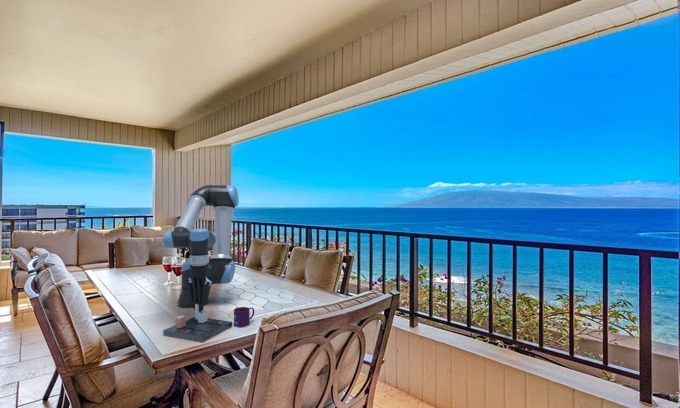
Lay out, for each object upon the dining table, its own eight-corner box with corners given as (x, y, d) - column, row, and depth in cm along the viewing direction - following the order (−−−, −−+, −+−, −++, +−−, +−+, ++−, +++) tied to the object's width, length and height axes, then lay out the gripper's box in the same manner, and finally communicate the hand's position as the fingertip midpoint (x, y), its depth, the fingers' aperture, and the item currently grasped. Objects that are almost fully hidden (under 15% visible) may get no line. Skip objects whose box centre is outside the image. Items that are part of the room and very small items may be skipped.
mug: (230, 324, 150) (231, 309, 150) (250, 319, 157) (251, 304, 157) (238, 328, 145) (238, 312, 145) (258, 322, 152) (258, 307, 152)
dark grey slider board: (163, 335, 137) (163, 330, 137) (195, 320, 154) (195, 316, 154) (202, 342, 130) (202, 337, 130) (232, 326, 147) (232, 321, 147)
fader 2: (197, 322, 146) (198, 312, 146) (202, 320, 148) (203, 310, 148) (202, 323, 145) (202, 313, 145) (207, 320, 148) (207, 311, 148)
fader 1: (175, 327, 140) (175, 317, 139) (181, 325, 142) (181, 315, 142) (179, 328, 139) (180, 318, 139) (185, 325, 142) (185, 316, 142)
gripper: (180, 264, 146) (180, 319, 146) (204, 266, 141) (204, 323, 141) (193, 261, 153) (193, 313, 153) (217, 264, 148) (216, 317, 148)
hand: (198, 318), depth 147 cm, fingers closed
